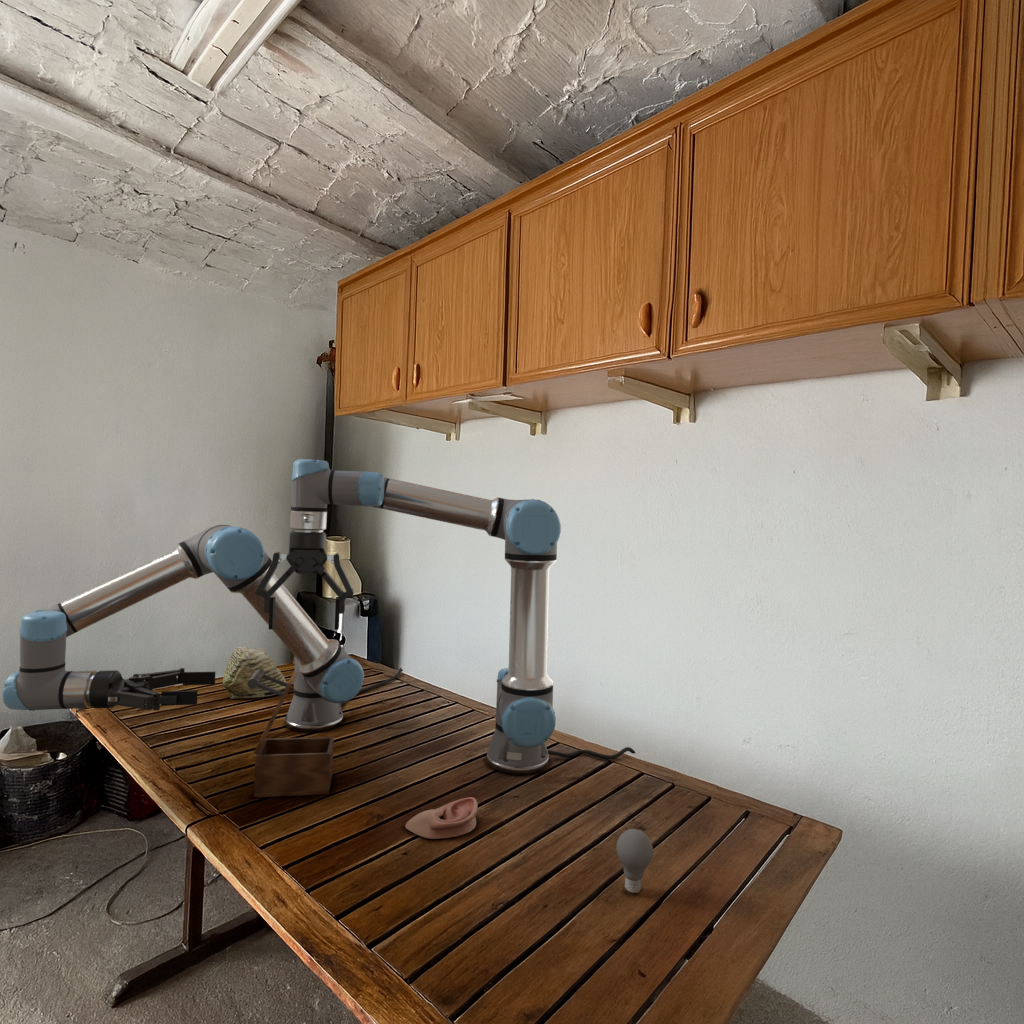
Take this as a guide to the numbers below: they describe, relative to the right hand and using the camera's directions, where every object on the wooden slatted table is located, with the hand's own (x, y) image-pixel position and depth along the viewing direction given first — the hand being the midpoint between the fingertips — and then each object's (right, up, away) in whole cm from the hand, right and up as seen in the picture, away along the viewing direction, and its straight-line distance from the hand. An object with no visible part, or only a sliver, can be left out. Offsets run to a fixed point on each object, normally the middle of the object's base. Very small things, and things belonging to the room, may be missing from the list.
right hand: (304, 628), depth 138 cm
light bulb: (+65, -38, -32) cm, 82 cm away
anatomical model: (+31, -36, -14) cm, 50 cm away
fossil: (-35, -32, +60) cm, 77 cm away
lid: (-5, -18, 0) cm, 19 cm away
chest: (-2, -34, +1) cm, 35 cm away
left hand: (-20, -12, -3) cm, 23 cm away
